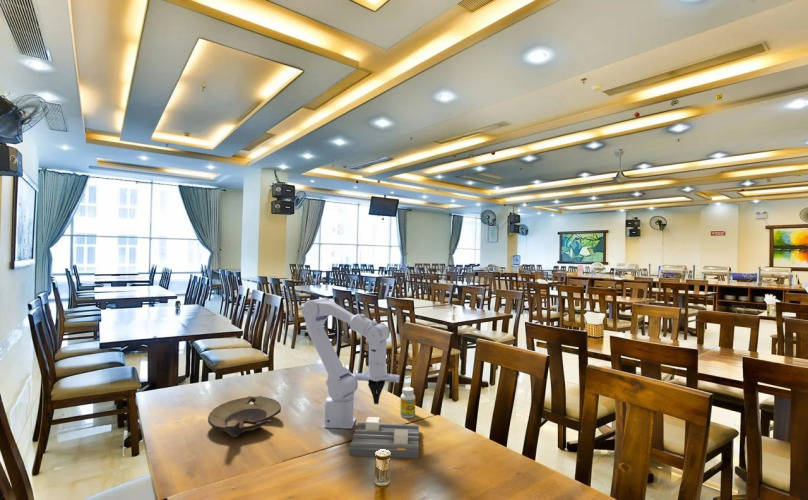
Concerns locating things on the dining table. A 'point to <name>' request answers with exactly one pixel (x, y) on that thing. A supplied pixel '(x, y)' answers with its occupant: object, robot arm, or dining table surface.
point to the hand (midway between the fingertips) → (376, 403)
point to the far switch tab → (373, 423)
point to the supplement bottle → (407, 403)
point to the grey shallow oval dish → (243, 414)
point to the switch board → (384, 441)
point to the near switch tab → (400, 436)
